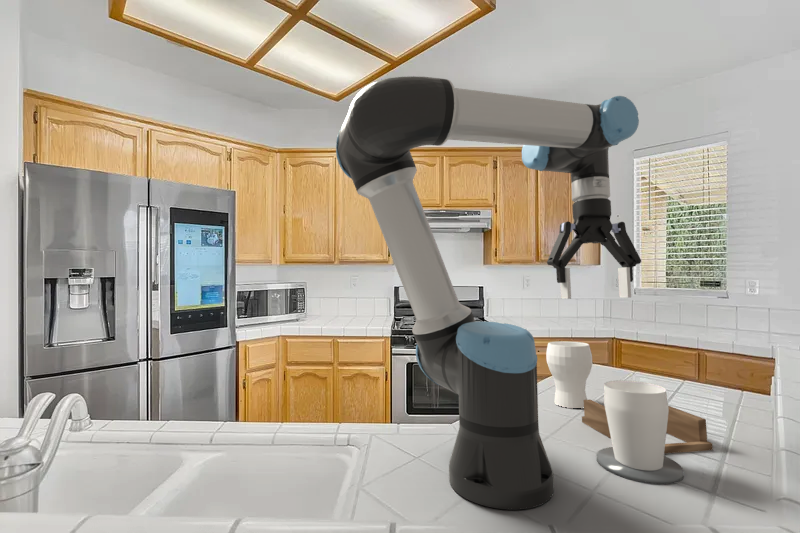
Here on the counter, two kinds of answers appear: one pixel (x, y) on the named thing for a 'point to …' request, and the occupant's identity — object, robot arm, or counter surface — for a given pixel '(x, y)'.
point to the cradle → (677, 426)
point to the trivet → (665, 475)
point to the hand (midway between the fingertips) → (595, 298)
